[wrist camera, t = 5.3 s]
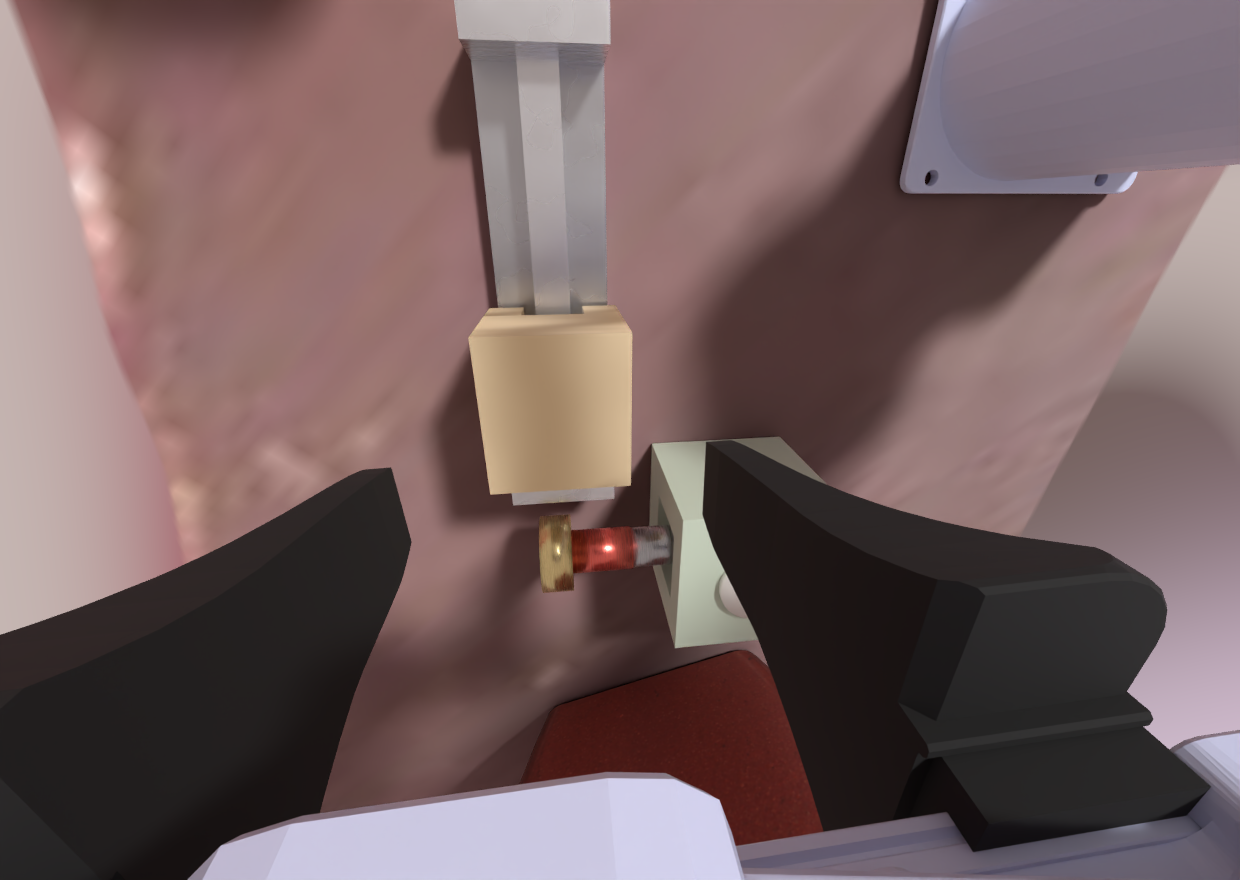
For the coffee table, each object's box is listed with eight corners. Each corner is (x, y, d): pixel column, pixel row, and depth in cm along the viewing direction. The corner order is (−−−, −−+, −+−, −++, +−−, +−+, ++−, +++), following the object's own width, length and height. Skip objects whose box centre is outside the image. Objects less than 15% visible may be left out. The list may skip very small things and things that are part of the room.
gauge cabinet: (779, 436, 22) (855, 513, 16) (763, 541, 25) (824, 639, 19) (651, 443, 21) (685, 525, 16) (648, 550, 24) (676, 654, 18)
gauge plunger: (699, 491, 21) (721, 533, 18) (695, 547, 22) (714, 594, 19) (540, 501, 20) (538, 547, 17) (545, 559, 21) (543, 609, 18)
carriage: (615, 305, 18) (632, 332, 13) (615, 429, 20) (630, 485, 16) (489, 308, 17) (468, 337, 13) (504, 435, 19) (490, 494, 15)
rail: (601, 32, 15) (609, -4, 13) (607, 465, 22) (614, 498, 19) (470, 27, 15) (453, -11, 12) (518, 470, 21) (513, 505, 19)
